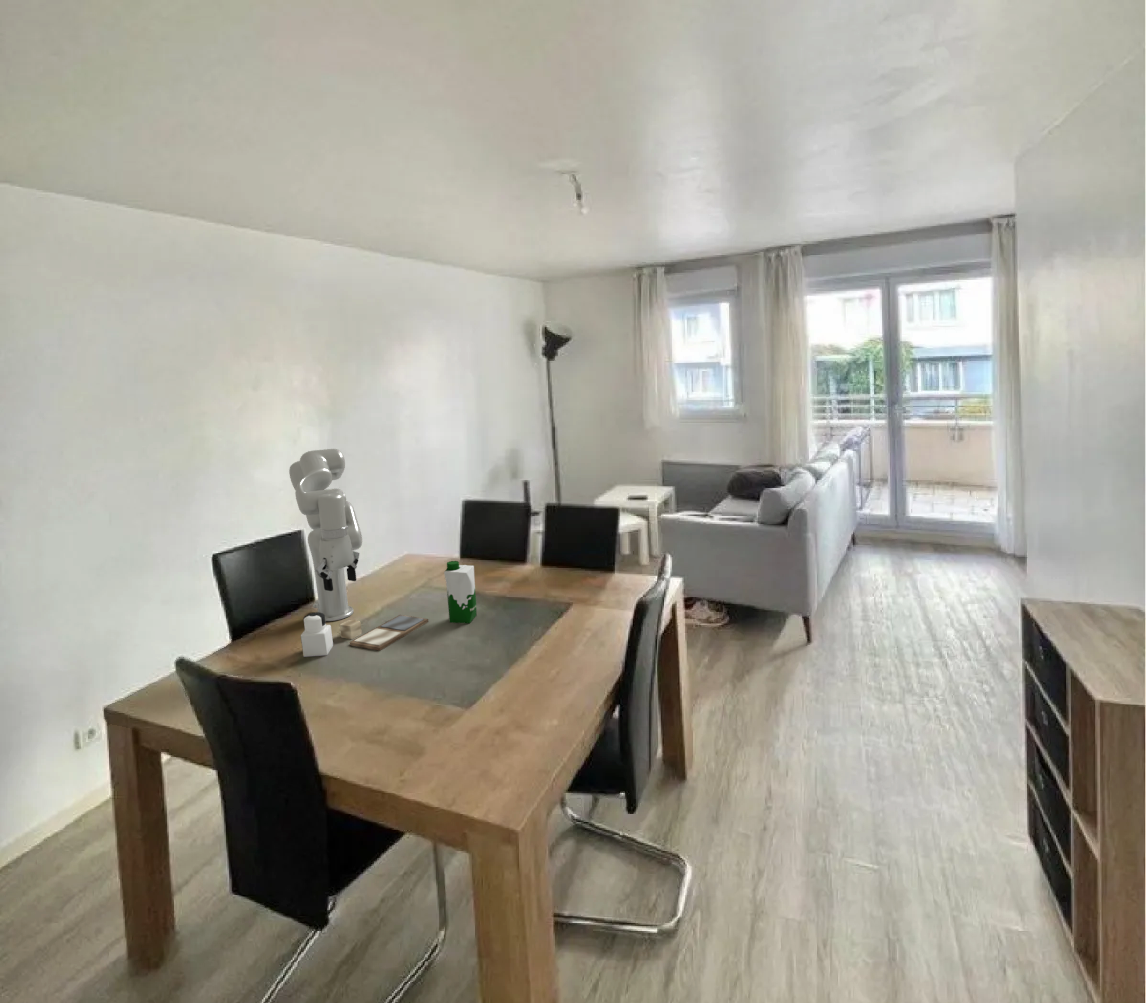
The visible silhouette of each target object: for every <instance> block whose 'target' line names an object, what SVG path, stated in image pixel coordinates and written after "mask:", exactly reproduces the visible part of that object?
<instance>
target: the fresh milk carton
mask: <svg viewBox="0 0 1146 1003" xmlns="http://www.w3.org/2000/svg"><path fill="white" fill-rule="evenodd" d="M443 574H444V579H445V582H446V583H445V585H446V593H447V595H446V596H447V606H448V608H447V609H448V617H449V618H448V619H449V623H450V624H451V623H452V624H471V623H472V622H473V620H474V619H475V618H476V617H477V597H476V596H477V594H476V582H475V581H476V580H475V565H467V564H460V562H459V561H458V560H451V561H447V562H446V570H445V571H444V572H443Z"/></svg>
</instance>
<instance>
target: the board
mask: <svg viewBox="0 0 1146 1003" xmlns="http://www.w3.org/2000/svg"><path fill="white" fill-rule="evenodd" d="M428 623H429V619H428V618H424V617H417V616H411V615H405V614H398V615H397V616H395V617H393V618H391V619H390V620H388V621H385V622H384V623H381V624H380V625H378V626H376V627H374V628H373V629H371V630H369V631H368V632H366V633H364V634H361V635H359V636H357V637H355V638H353V639H352V640H351V641H349V645H350V646H353V647H358V648H362V649H363V648H364V649H368V650H375V651H379V652H381V651H382V650H384V649H385V648H387V647H389V646H391V644H394V643H396V642H397V641H399V640H401V639H402V638H405V637H406V636H407V635H409V634H411V633H413V632H414V631H415V630H416V631H417V629H419V628H421V627H422V626H425V625H426V624H428Z"/></svg>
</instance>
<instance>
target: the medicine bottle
mask: <svg viewBox="0 0 1146 1003" xmlns="http://www.w3.org/2000/svg"><path fill="white" fill-rule="evenodd" d="M326 622H327V621H325V615H324V614H323V613H319V612H318V611H316V612H311V613H308V614H306V615H304V617H303V624H304V626H303V627H304V630H303V632H302V633H301V634H300V643H301V649H302V656H303V658H309V657H319V656H320V657H322V656H323V657H325V656H328V654H329V653H330V651H331V650H332V648H333V647H334V642H333V640H334V639H333V634H332V626H331V624H327V623H326Z"/></svg>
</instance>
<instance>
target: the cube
mask: <svg viewBox="0 0 1146 1003" xmlns="http://www.w3.org/2000/svg"><path fill="white" fill-rule="evenodd" d="M339 628H340V629H339V630H340V637H341V638H342V639H349V640H354V639H356V638H358V637H360V636H362V635H363V633H362V632H363V631H362V623H361V621H360V620H356V619H348V620H346V621H344V622H341V623H340V624H339Z"/></svg>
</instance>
